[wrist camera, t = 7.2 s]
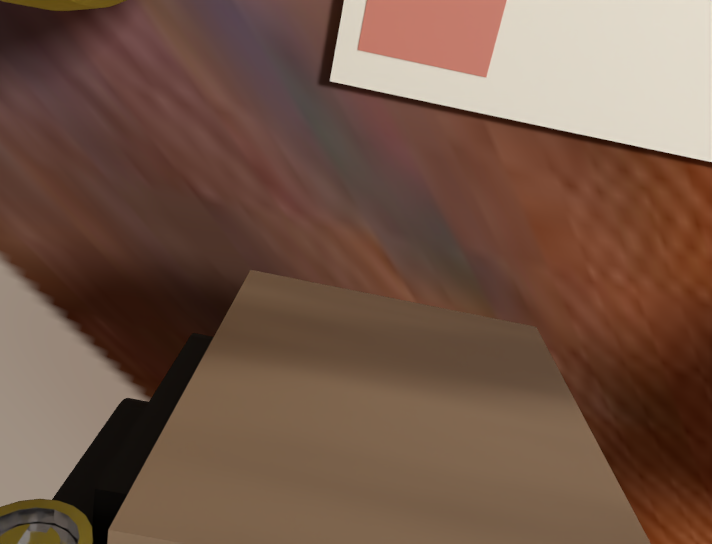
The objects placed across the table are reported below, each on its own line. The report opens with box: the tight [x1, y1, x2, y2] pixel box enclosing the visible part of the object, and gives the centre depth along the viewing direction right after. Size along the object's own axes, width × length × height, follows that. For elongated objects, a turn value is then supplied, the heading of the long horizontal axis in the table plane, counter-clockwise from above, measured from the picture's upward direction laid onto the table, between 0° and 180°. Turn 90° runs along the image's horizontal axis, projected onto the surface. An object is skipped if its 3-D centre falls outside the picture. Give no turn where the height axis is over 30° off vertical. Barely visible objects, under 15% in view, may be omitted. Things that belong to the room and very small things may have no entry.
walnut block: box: [107, 270, 651, 544], centre depth 9 cm, size 5×5×6 cm
